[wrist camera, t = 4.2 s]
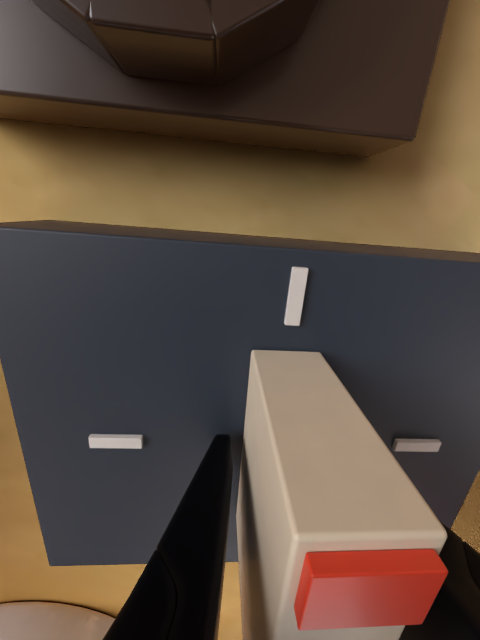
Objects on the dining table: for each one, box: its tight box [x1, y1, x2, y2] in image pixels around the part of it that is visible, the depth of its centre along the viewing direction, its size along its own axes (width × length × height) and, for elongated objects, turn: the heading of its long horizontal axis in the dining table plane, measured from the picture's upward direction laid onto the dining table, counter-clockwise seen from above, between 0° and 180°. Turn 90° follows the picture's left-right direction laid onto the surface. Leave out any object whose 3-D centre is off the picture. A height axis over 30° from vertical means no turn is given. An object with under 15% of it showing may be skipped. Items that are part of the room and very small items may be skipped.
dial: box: [236, 350, 448, 640], centre depth 6 cm, size 6×2×5 cm, turn 176°
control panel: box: [0, 220, 480, 566], centre depth 10 cm, size 14×11×3 cm
